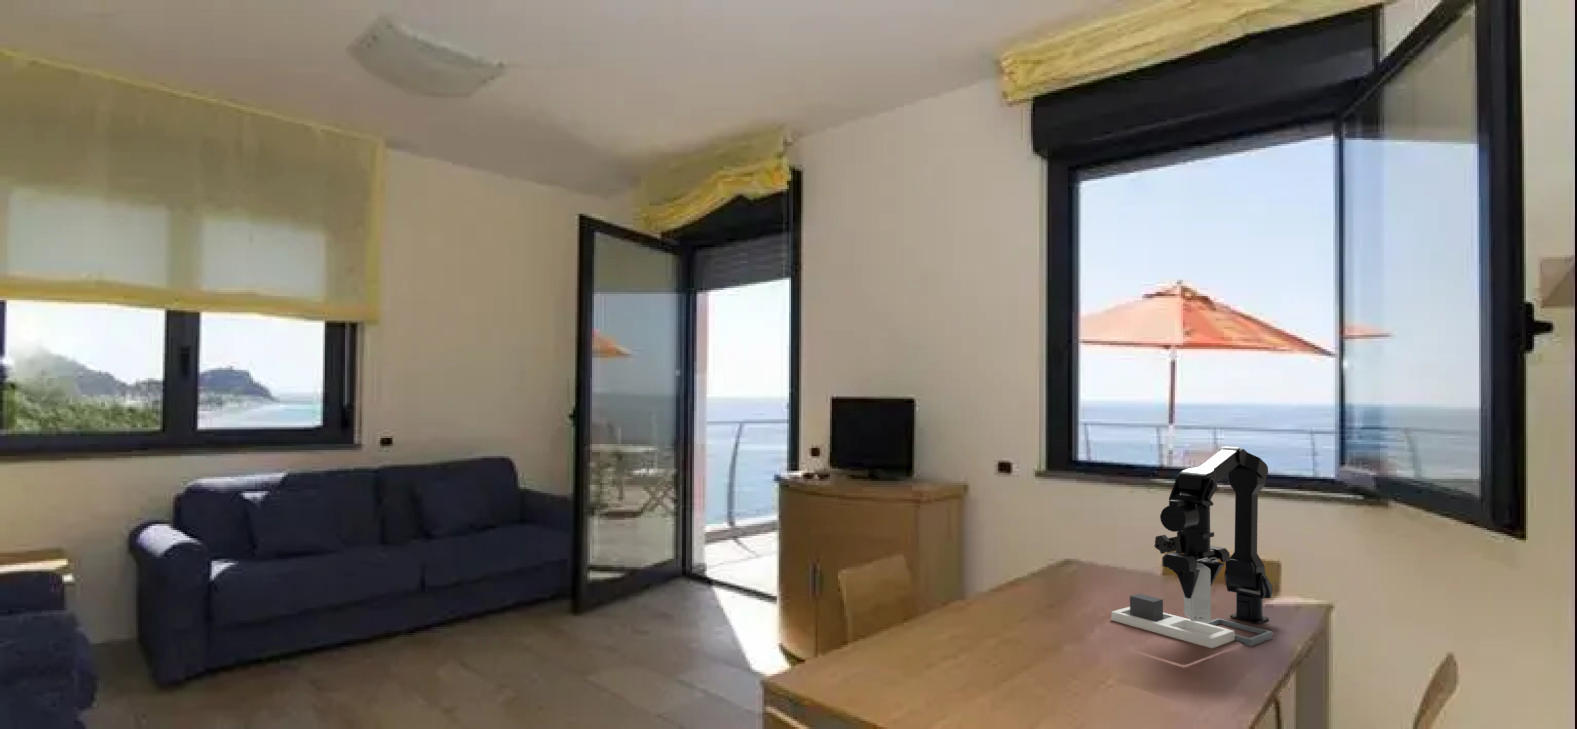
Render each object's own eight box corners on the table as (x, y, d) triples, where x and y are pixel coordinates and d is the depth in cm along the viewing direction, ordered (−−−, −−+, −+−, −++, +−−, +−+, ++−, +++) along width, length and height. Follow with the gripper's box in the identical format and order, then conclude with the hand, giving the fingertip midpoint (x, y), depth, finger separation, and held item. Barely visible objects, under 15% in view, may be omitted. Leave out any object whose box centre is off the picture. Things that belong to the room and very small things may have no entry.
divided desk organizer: (1134, 615, 195) (1134, 605, 195) (1234, 641, 175) (1234, 630, 175) (1111, 621, 189) (1111, 611, 189) (1211, 650, 169) (1211, 638, 169)
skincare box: (1211, 622, 174) (1211, 569, 174) (1191, 621, 175) (1190, 568, 175) (1203, 614, 180) (1202, 562, 180) (1183, 613, 181) (1182, 561, 181)
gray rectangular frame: (1218, 624, 188) (1218, 618, 188) (1272, 638, 178) (1272, 631, 178) (1196, 631, 182) (1196, 625, 182) (1251, 646, 172) (1251, 639, 172)
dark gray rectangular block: (1139, 618, 191) (1139, 593, 191) (1163, 624, 186) (1162, 599, 186) (1130, 620, 188) (1129, 595, 188) (1153, 627, 183) (1153, 601, 184)
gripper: (1183, 517, 190) (1183, 581, 189) (1139, 525, 179) (1140, 593, 179) (1230, 524, 181) (1231, 592, 180) (1187, 533, 170) (1188, 605, 170)
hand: (1196, 595), depth 177 cm, fingers closed on skincare box, 7 cm apart
